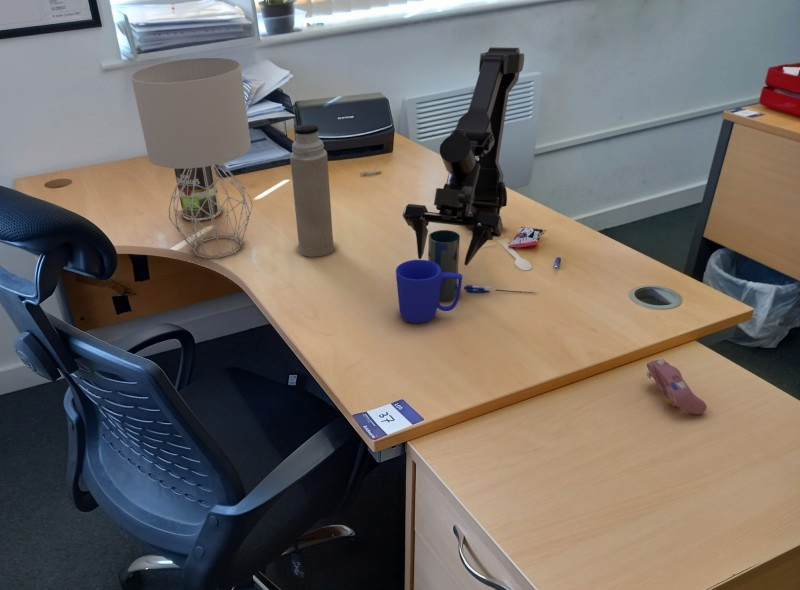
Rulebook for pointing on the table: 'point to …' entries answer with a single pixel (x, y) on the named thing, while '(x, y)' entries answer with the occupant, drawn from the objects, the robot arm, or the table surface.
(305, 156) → the thermos bottle
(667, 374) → the toy shoe
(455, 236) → the pencil cup
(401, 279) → the mug
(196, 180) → the coffee can
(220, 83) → the table lamp
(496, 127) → the robot arm
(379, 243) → the table surface
